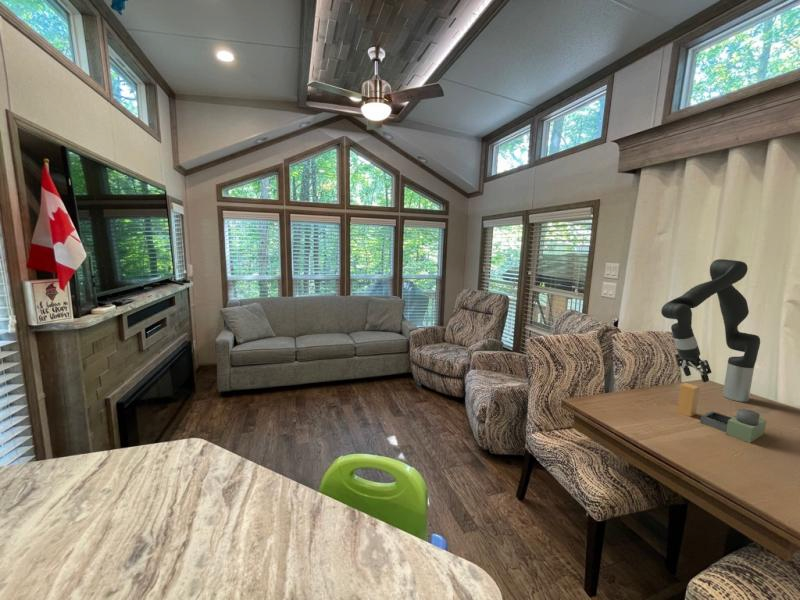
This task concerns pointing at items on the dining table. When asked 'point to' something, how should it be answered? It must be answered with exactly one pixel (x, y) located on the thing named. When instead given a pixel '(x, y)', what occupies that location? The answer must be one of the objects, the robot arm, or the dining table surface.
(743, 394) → the robot arm
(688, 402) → the tall orange pillar
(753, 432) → the mower housing
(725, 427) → the dark grey tray
